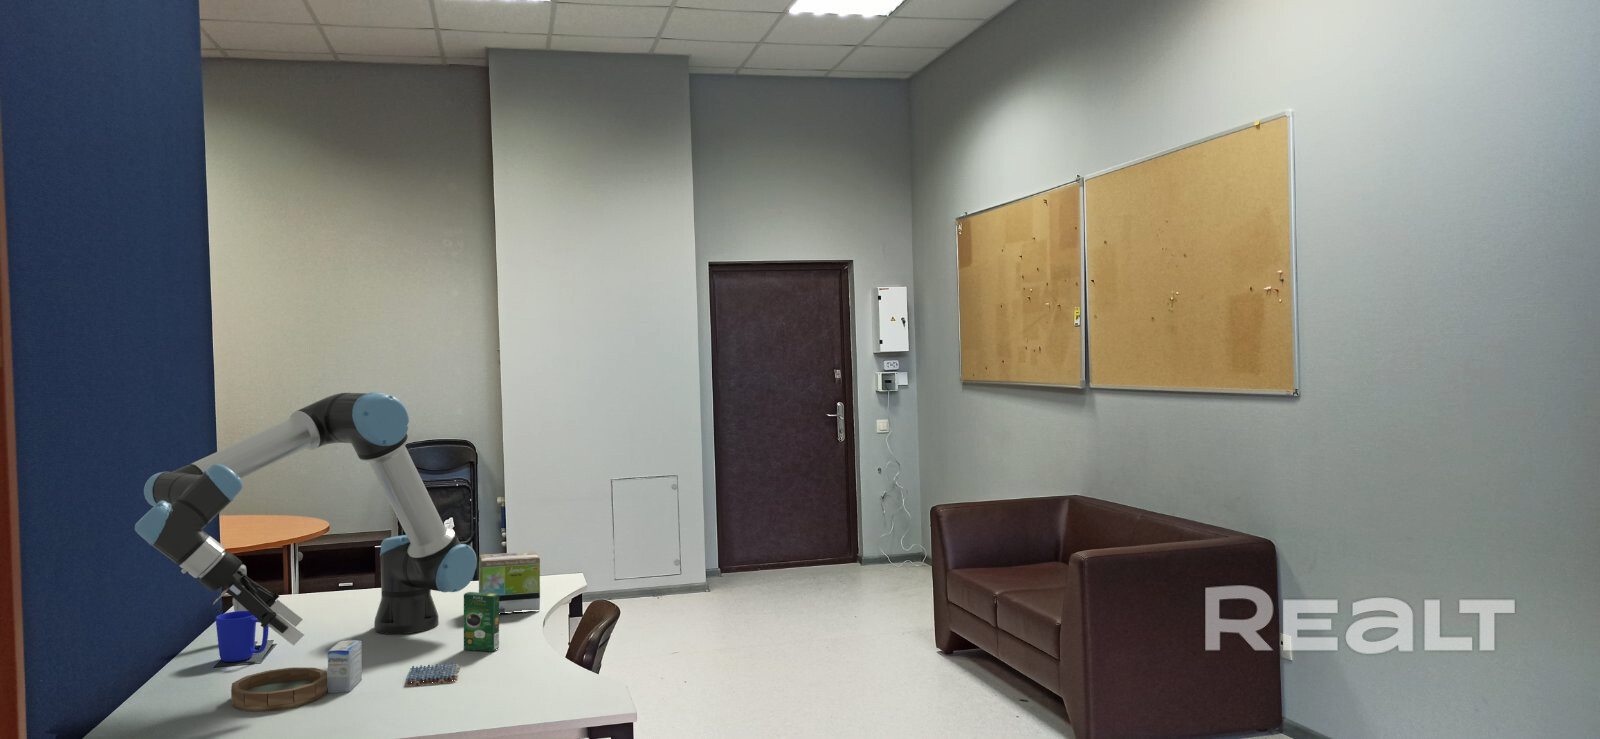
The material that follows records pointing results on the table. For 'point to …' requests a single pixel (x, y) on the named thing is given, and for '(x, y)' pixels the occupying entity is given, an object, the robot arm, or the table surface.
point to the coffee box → (481, 621)
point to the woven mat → (432, 674)
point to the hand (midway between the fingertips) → (298, 632)
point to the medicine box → (344, 666)
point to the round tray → (279, 689)
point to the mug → (238, 636)
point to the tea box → (511, 579)
